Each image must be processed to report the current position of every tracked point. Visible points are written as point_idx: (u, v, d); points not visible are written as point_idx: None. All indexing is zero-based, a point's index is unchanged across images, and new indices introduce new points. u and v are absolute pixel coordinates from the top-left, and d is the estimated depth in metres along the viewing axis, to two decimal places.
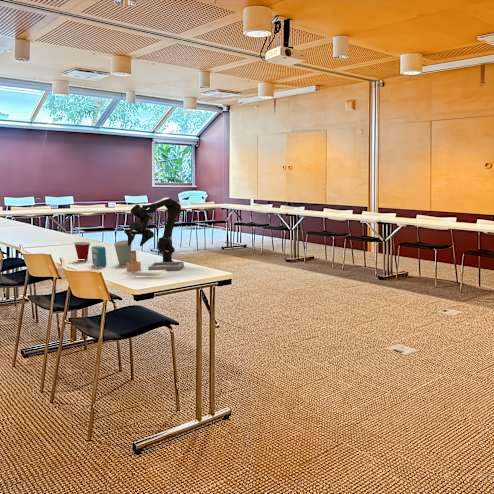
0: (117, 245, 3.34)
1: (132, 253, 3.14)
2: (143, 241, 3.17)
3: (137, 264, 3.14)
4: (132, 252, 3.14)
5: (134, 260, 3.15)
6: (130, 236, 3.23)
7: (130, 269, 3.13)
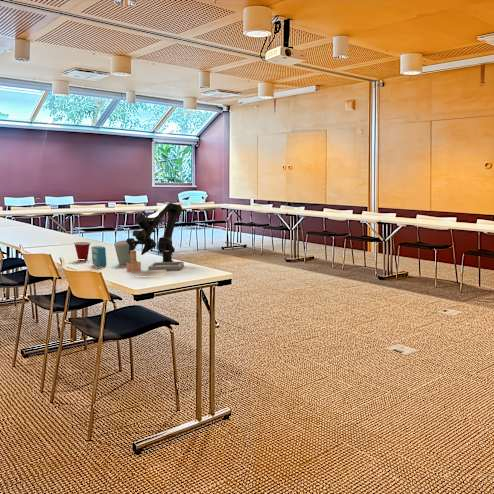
0: (117, 245, 3.34)
1: (132, 253, 3.14)
2: (145, 250, 3.17)
3: (137, 264, 3.14)
4: (132, 252, 3.14)
5: (134, 260, 3.15)
6: (132, 245, 3.22)
7: (130, 269, 3.13)
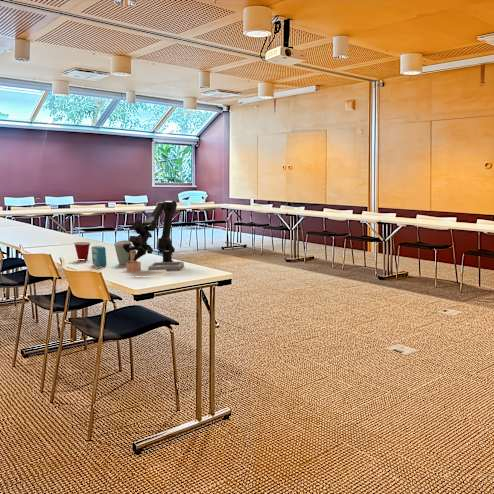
0: (117, 245, 3.34)
1: (132, 253, 3.14)
2: (138, 256, 3.15)
3: (137, 264, 3.14)
4: (132, 252, 3.14)
5: None
6: None
7: (130, 269, 3.13)
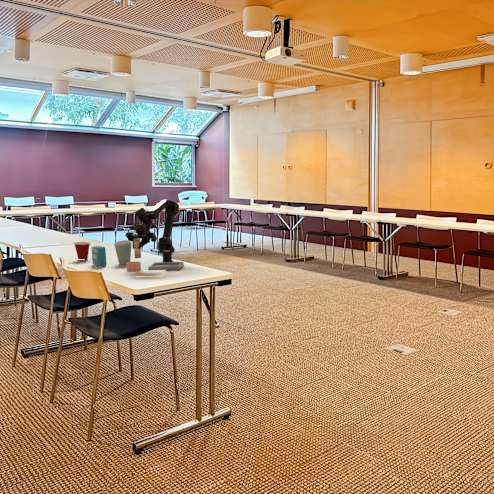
0: (117, 245, 3.34)
1: (136, 241, 3.13)
2: (142, 244, 3.14)
3: (137, 264, 3.14)
4: (136, 240, 3.13)
5: (138, 248, 3.14)
6: None
7: (130, 269, 3.13)
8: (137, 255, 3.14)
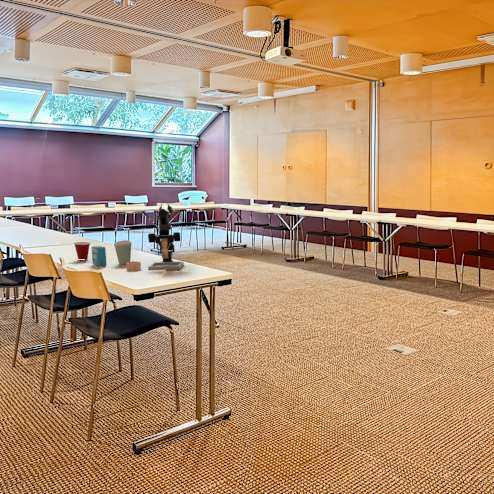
0: (117, 245, 3.34)
1: (165, 241, 3.17)
2: (169, 244, 3.19)
3: (137, 264, 3.14)
4: (165, 240, 3.17)
5: (167, 248, 3.18)
6: None
7: (130, 269, 3.13)
8: (166, 255, 3.18)
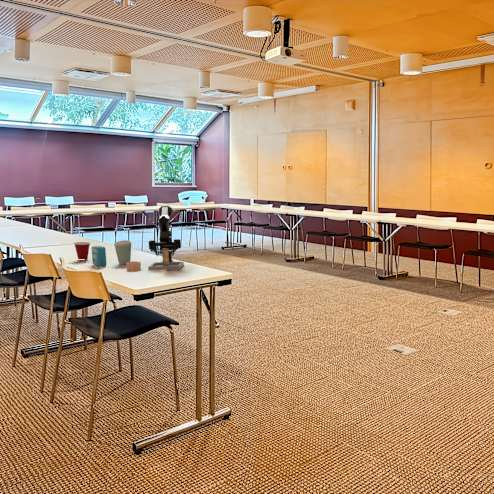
0: (117, 245, 3.34)
1: (167, 250, 3.18)
2: (174, 251, 3.20)
3: (137, 264, 3.14)
4: (167, 249, 3.18)
5: (168, 257, 3.19)
6: (156, 247, 3.20)
7: (130, 269, 3.13)
8: (167, 264, 3.18)
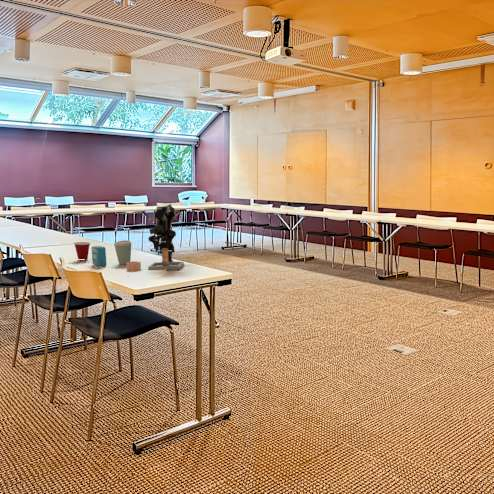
0: (117, 245, 3.34)
1: (166, 251, 3.17)
2: (168, 242, 3.23)
3: (137, 264, 3.14)
4: (166, 250, 3.17)
5: (167, 258, 3.19)
6: (155, 242, 3.30)
7: (130, 269, 3.13)
8: (166, 264, 3.18)
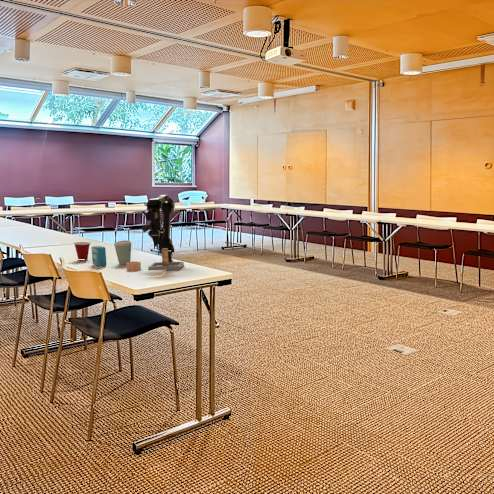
0: (117, 245, 3.34)
1: (166, 251, 3.17)
2: (155, 241, 3.21)
3: (137, 264, 3.14)
4: (166, 250, 3.17)
5: (167, 258, 3.19)
6: None
7: (130, 269, 3.13)
8: (166, 264, 3.18)
